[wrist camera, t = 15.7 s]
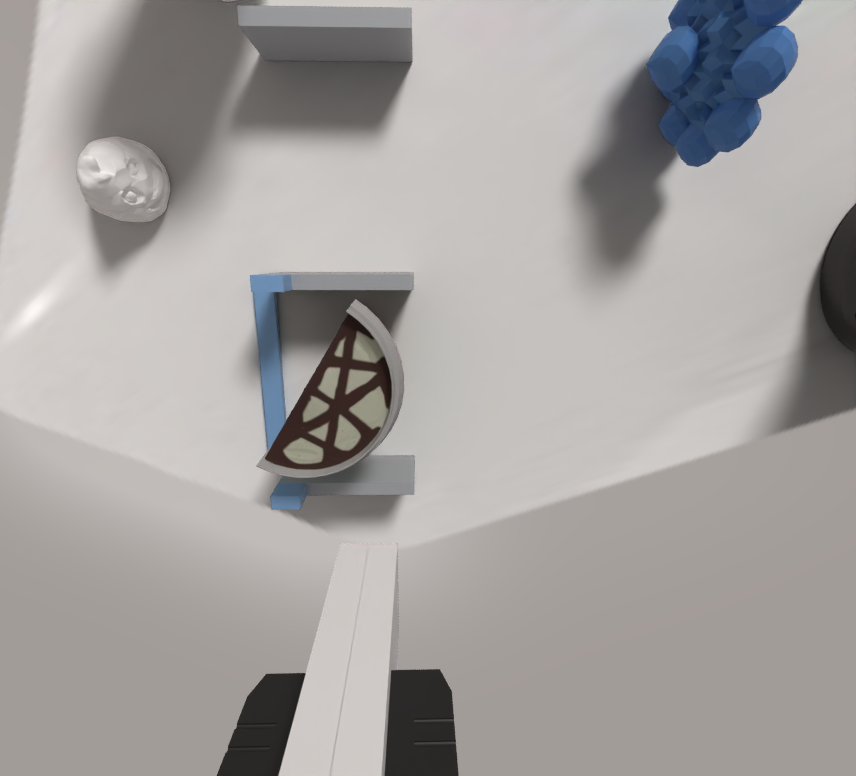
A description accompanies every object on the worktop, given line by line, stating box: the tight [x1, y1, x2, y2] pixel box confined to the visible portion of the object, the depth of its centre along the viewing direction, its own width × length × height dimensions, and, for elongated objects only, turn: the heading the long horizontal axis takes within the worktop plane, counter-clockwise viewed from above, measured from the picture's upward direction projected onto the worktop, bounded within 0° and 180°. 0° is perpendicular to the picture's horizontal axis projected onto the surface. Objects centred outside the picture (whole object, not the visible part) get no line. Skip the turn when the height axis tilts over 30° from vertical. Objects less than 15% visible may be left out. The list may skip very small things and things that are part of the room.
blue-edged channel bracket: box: [237, 5, 415, 509], centre depth 33 cm, size 12×31×7 cm, turn 0°
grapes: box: [647, 0, 803, 167], centre depth 28 cm, size 12×7×12 cm, turn 8°
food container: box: [257, 300, 404, 478], centre depth 34 cm, size 12×6×10 cm, turn 148°
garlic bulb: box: [77, 136, 170, 222], centre depth 31 cm, size 6×6×6 cm
